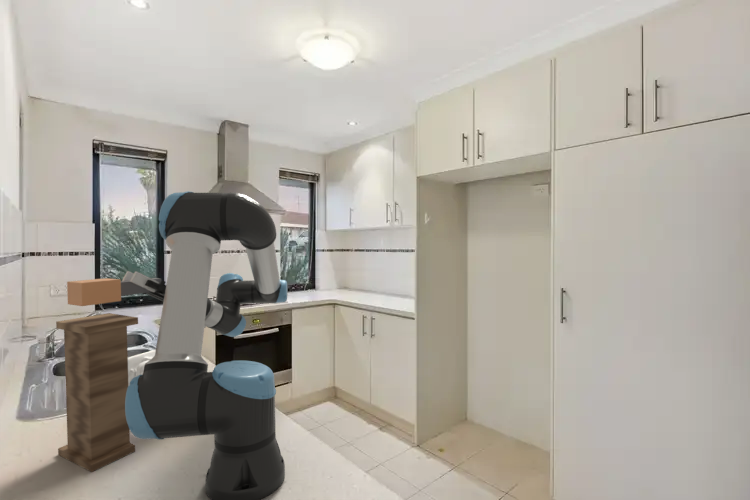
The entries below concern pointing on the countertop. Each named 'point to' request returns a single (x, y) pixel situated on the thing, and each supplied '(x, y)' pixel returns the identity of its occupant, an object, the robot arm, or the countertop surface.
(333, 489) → the countertop surface
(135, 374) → the cable organizer
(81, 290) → the plug
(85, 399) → the wooden pedestal
